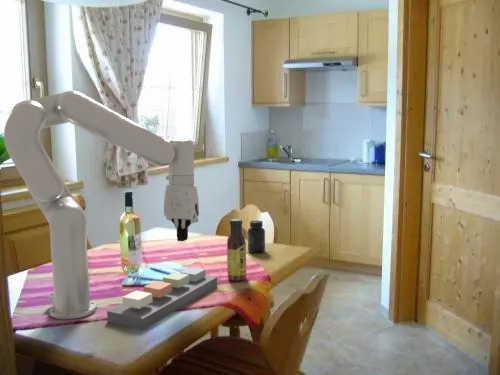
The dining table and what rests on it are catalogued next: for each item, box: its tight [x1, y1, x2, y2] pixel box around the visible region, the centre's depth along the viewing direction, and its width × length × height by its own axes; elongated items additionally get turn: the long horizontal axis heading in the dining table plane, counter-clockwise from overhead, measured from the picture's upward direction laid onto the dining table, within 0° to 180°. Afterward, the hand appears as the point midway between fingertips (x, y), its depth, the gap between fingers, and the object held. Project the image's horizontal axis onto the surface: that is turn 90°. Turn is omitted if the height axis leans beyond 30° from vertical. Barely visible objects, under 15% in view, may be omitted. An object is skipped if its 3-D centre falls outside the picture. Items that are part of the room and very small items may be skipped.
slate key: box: [179, 266, 206, 282], centre depth 172 cm, size 6×6×2 cm
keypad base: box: [106, 275, 218, 331], centre depth 160 cm, size 12×37×3 cm, turn 152°
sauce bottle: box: [226, 218, 247, 282], centre depth 179 cm, size 7×6×20 cm
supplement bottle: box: [247, 220, 266, 255], centre depth 212 cm, size 7×7×12 cm
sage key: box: [162, 272, 189, 288], centre depth 164 cm, size 6×6×2 cm
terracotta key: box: [143, 280, 172, 298], centre depth 156 cm, size 6×6×2 cm
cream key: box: [122, 290, 152, 309], centre depth 148 cm, size 6×6×2 cm
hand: (182, 240), depth 166 cm, fingers closed
